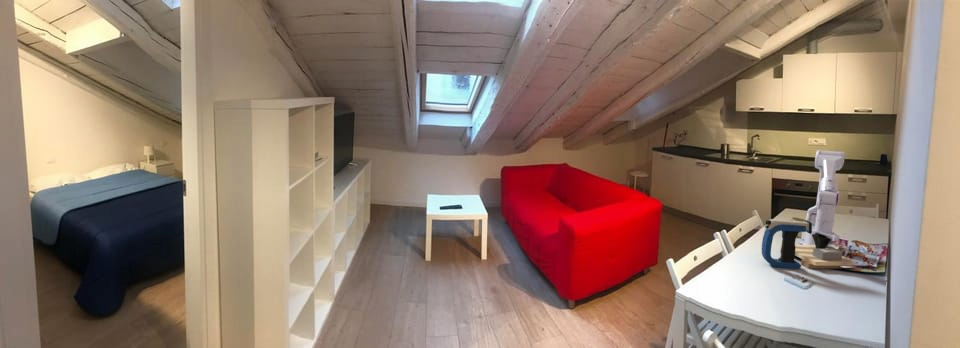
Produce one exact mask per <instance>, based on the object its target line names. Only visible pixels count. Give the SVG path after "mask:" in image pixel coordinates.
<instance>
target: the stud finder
mask: <svg viewBox="0 0 960 348" xmlns="http://www.w3.org/2000/svg"><path fill="white" fill-rule="evenodd" d="M843 255H844V254H843V252H842V251H840V250H838V249H835V248H830V249H826V248H814V249H813V256H815V257H817V258H819V259H821V260H842V256H843Z"/></svg>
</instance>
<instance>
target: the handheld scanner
mask: <svg viewBox="0 0 960 348" xmlns="http://www.w3.org/2000/svg"><path fill="white" fill-rule="evenodd" d="M764 226H765V227H764V228H765V229H764V233H763V237H762V241H761V255H762V257H763V259H764V260H765V261H766V262H767V263H768V264H769V265H770V266H772V267H774V268H778V269H792V270H800V269H801V267H802V265H801V262H799V261H797V260H795V257H796V256H795V248H796V247H795V245H796V240H797V238H798V237H797V236H798V233H799V232H805V231H806V232H808V233H809V234H812V223H811V222H809V221H808V220H805V222H802V221H790V220H785V219H773V218H772V219H771V218H770V219H767V220H766V221H765V225H764ZM777 232H781V238H782V241H781V245H782V247H781V246H780V251H781V253H780V257H779V258H773V257H772V255H771V254H772V246H773V245H772V244H773V239H774V236H775V235H776V234H777Z"/></svg>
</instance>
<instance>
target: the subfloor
mask: <svg viewBox="0 0 960 348" xmlns="http://www.w3.org/2000/svg"><path fill="white" fill-rule="evenodd" d="M781 247H782V244H781V245H780V248H781ZM795 247H796V248H795V257H798V258H800V259H801V261H800V265H801V266H803V267H805V268H807V269H839V268H838V267H840V266H856V261H854V260H852V259H851V258H847V257H845V256H844V255H842V260H821V259H819V258H817V257H815V256H813V249H814V248H816V246H815V245H802V244H795ZM779 252H780V254H781V250H780V251H779Z"/></svg>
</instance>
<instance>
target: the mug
mask: <svg viewBox="0 0 960 348" xmlns="http://www.w3.org/2000/svg"><path fill="white" fill-rule="evenodd" d="M805 220H806V218H803V217H798V216H797V217H796V216H794V217H793V216H792V217H791V218H790V220H789V221H802V222H805ZM796 238H798V239H801V238H802V232H799V233H798V236H797V237H796Z"/></svg>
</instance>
